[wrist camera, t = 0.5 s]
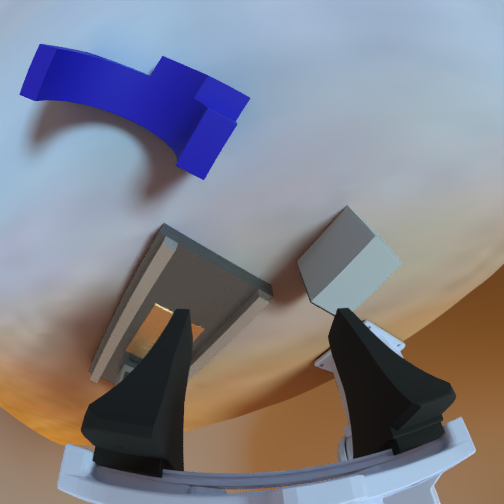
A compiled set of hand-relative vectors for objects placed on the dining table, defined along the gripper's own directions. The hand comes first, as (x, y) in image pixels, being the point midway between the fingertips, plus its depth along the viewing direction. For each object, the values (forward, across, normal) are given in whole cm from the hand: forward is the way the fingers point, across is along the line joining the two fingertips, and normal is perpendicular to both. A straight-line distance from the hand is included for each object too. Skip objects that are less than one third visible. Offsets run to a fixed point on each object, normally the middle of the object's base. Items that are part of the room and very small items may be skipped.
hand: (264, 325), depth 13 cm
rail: (+9, +8, +11) cm, 16 cm away
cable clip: (+9, +7, -11) cm, 16 cm away
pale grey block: (+9, -7, 0) cm, 11 cm away
